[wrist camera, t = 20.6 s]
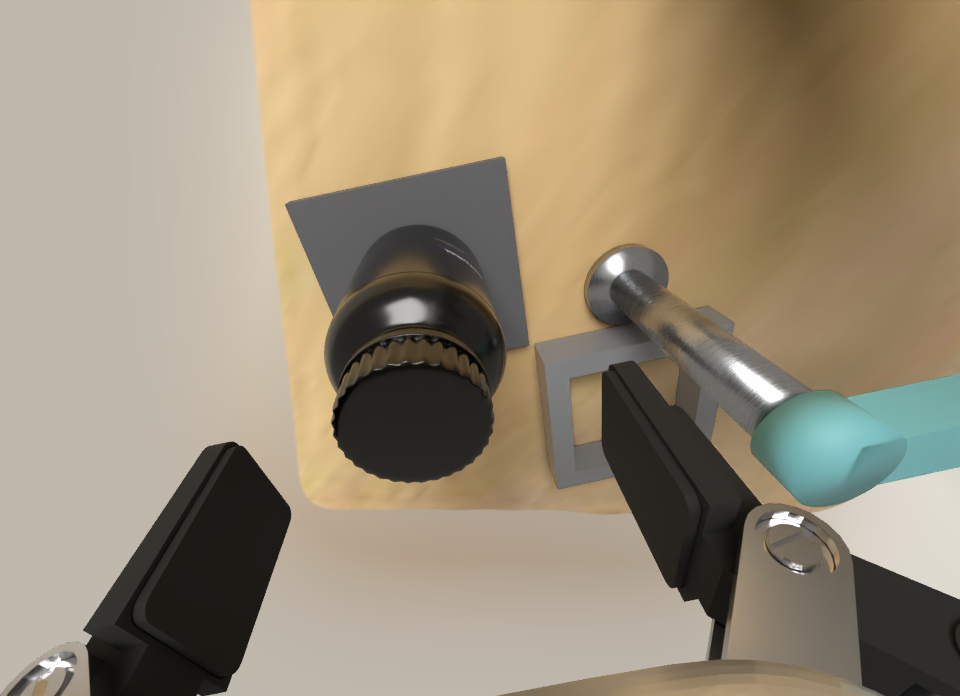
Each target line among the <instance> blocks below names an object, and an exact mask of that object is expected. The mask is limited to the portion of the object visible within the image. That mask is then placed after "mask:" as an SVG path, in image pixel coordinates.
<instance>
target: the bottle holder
mask: <svg viewBox="0 0 960 696" xmlns="http://www.w3.org/2000/svg"><path fill="white" fill-rule="evenodd" d="M696 310H697V311H699V312H700V313H702V314H703V315H704V316H706V317H707V318H709V319H710V320H712V321H713V322H714V323H716V324H717V325H719V326H720V327H722V328H723V329H724V330H726V331H727V332H729V333H730V334H732V333H733V328H734V322H733V321H731V320H729V319H728V318H726V317H725V316H723V315H722V314H720V313H719V312H717V311H716V310H714V309H713V308H711V307H710V306H706V307H701V308H697V309H696ZM534 345H535V353H536V361H537V370H538V378H539V386H540V395H541V403H542V411H543V420H544V428H545V436H546V445H547V453H548V461H549V466H550V469H551V472H552V475H553V478H554V480H555V483H556V486H557V489H562V488H567V487H571V486H576V485H580V484H585V483H589V482H594V481H598V480H603V479H607V478H612V477H615V476H614V474H613V472H612V470H611V468H610V466H609V464H608V462H607V460H606V458H605V455H604V452H603V449H602V440H601V441H596V442H592V443H587V444H583V445H578V446H574V439H573V424H572V409H571V394H570V378H574V377H579V376H583V375H588V374H592V373H597V372H602V371H606V370H608V368H609V365H611V364H616V363H621V362H626V361H631V360H632V361H634V362H635V363H636V364H638V363H643V362H647V361H652V360H656V359H661V358H665V357H669V356H668V355H667V354H666V353H665V352H664V351H663V350H662V349H661V348H660V347H659V346H658V345H657V344H656V343H655V342H654V341H653V340H652V339H651V338H649V337H648V336H647V335H646V334H645V333H644V332H643V331H642V330H641V329H640V328H639V327H638V326H637V325H636V324H635V323H634V322H633V323H629V324H623V325H619V326H614V327H610V328H605V329H601V330H596V331H591V332H587V333H582V334H578V335H573V336H568V337H564V338H559V339H555V340H550V341H545V342H541V343H536V344H534ZM675 405H677V406H679V407H681V408H682V409H683V410H684V411H685V412H686V413H687V414H688V415H689V416H690V418H691V419H692V420H693V421H694V422H695V424H696V425H697V426H698V427H699V429H700V430H701V431H702V432H703V433H704V435H705V436H706V437H707V438H708V440H709V441H711V437H712V432H713V427H714V422H715V417H716V412H717V407H718V404H717V403H716V402H715V401H714V400H713V399H712V398H711V397H710V396H709V395H708V394H707V393H706V392H705V391H704V390H703V389H702V388H701V387H700V386H699V385H698V384H697V383H696V382H695V381H694V380H693V379H692V378H691V377H690V376H689V375H688V374H687V373H686V372H685V371H683V370H682V369H681V368H680V371H679V379H678V387H677V395H676V403H675Z"/></svg>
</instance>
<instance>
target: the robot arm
mask: <svg viewBox="0 0 960 696" xmlns="http://www.w3.org/2000/svg"><path fill="white" fill-rule="evenodd" d="M602 449H603V452H604V455H605V458H606V460H607V462H608V464H609V466H610V468H611V470H612V472H613V474H614V476H615V478H616V480H617V483H618V485H619V487H620V489H621V491H622V493H623V495H624V497H625V499H626V501H627V503H628V505H629V507H630V509H631V511H632V513H633V516H634V518H635V519H636V522H637V523H638V526H639V528H640V530H641V532H642V534H643V536H644V538H645V540H646V542H647V544H648V546H649V548H650V551H651V553H652V555H653V557H654V559H655V561H656V563H657V565H658V567H659V569H660V571H661V573H662V575H663V577H664V579H665V581H666V583H667V584H668V586H669V587H670V588H675V587H677V588H678V590H679V592H680V594H681V596H682V598H683V600H684V602H685V601H690V600H695V599H699V601H700V603H701V605H702V607H703V608H704V610H705V612H706V614H707V615H708V616H709V617H711V618H712V624H711V631H710V636H709V642H708V649H707V654H706V660H705V661H700V662H690V663H681V664H672V665H666V666H660V667H654V668H648V669H642V670H636V671H630V672H624V673H619V674H612V675H607V676H601V677H595V678H589V679H583V680H578V681H573V682H567V683H562V684H557V685H551V686H547V687H542V688H536V689H531V690H526V691H520V692H515V693H509V694H504V695H499V696H960V600H959V599H957V598H955V597H952V596H950V595H947V594H945V593H943V592H940V591H938V590H935V589H932V588H931V587H928V586H926V585H923V584H921V583H919V582H916V581H914V580H911V579H909V578H907V577H904V576H902V575H899V574H897V573H895V572H892V571H890V570H887V569H885V568H883V567H880V566H878V565H876V564H873V563H871V562H868V561H866V560H863V559H861V558H859V557H856V556H854V555H852V554H850V551H849V549H848V547H847V546H846V544H845V543H844V541H843V540H842V538H841V537H840V535H838V534H837V533H836V532H835V531H834V530H833V529H832V528H831V527H830V526H829V525H828V524H827V523H825V522H824V521H822V520H821V519H819V518H818V517H816V516H815V515H813V514H811V513H809V512H806V511H804V510H802V509H800V508H797V507H794V506H789V505H785V504H764V505H762V504H761V503H760V502H759V501H758V499H757V498H756V497H755V496H754V495H753V493H752V492H751V491H750V490H749V488H748V487H747V486H746V485H745V484H744V482H743V481H742V480H741V479H740V477H739V476H738V475H737V474H736V473H735V471H734V470H733V469H732V468H731V466H730V465H729V464H728V463H727V462H726V460H725V459H724V458H723V457H722V455H721V454H720V453H719V452H718V451H717V449H716V448H715V447H714V446H713V444H712V443H711V442H710V441H709V440H708V438H707V437H706V436H705V435H704V433H703V432H702V431H701V430H700V429H699V427H698V426H697V425H696V424H695V422H694V421H693V420H692V419H691V418H690V416H689V415H688V414H687V413H686V412H685V411H684V410H683V409H682V408H681V407H679V406H677V405H674V406H669V405H668V403H667V402H666V401H665V400H664V398H663V397H662V396H661V394H660V393H659V392H658V391H657V389H656V388H655V387H654V385H653V384H652V383H651V382H650V380H649V379H648V378H647V377H646V375H645V374H644V373H643V371H642V370H641V369H640V368H639V366H638V365H637V364H636V363H635V362H634V361H632V360H631V361H626V362H621V363H616V364H611V365H609V368H608V371H605V372H603V373H602ZM290 520H291V510H290V507H289V505H288V504H287V503H286V501H285V500H284V499H283V498H282V496H281V495H280V493H279V492H278V491H277V489H276V488H275V487H274V485H273V484H272V483H271V481H270V480H269V479H268V478H267V476H266V475H265V474H264V472H263V471H262V470H261V468H260V467H259V466H258V464H257V463H256V462H255V460H254V459H253V458H252V456H251V455H250V454H249V452H248V451H247V450H246V449H245V448H244V447H243V446H239V445H238V444H237V443H235V442H227V443H222V444H217V445H212V446H208V447H207V448H205V449H204V450H203V451H202V453H201V454H200V456H199V457H198V459H197V460H196V462H195V464H194V465H193V467H192V468H191V469H190V471H189V472H188V474H187V475H186V477H185V478H184V480H183V481H182V483H181V484H180V486H179V487H178V489H177V490H176V492H175V493H174V495H173V496H172V498H171V499H170V501H169V502H168V504H167V505H166V507H165V508H164V510H163V511H162V513H161V514H160V516H159V517H158V519H157V520H156V522H155V523H154V525H153V526H152V528H151V529H150V531H149V532H148V534H147V535H146V537H145V538H144V540H143V541H142V543H141V544H140V546H139V547H138V549H137V550H136V552H135V553H134V555H133V556H132V558H131V559H130V561H129V562H128V564H127V565H126V567H125V568H124V570H123V571H122V573H121V574H120V576H119V577H118V579H117V580H116V582H115V583H114V585H113V586H112V588H111V589H110V591H109V592H108V594H107V595H106V597H105V598H104V600H103V601H102V603H101V604H100V606H99V607H98V609H97V610H96V612H95V613H94V615H93V616H92V618H91V619H90V621H89V622H88V624H87V625H86V626H85V628H84V629H83V631H85V632H87V633H89V634H90V635H92V637H91V639H90V640H89V642H88V644H87V645H84V644H82V643H80V642H78V641H77V642H68V643H65V644H62V645H60V646H58V647H55V648H53V649H51V650H50V651H49V652H47V653H45V654H43V655H42V656H40V657H39V658H37V659H36V660H35V661H34V662H32V663H31V664H30V665H29V666H27V667H26V668H25V669H24V670H22V672H21V673H19V675H18V676H17V677H16V678H15V679H14V680H13V681H12V682H11V683H10V684H9V685H8V686H7V687H6V688H5V689H4V691H3V692H2V693H1V694H0V696H196V695H197V694H199V695H201V696H206V695H211V694H217V693H221V692H226V691H227V688H228V685H229V683H230V680H231V677H232V674H234V673H235V672H236V671H237V670H238V668H239V667H240V664H241V662H242V659H243V657H244V654H245V651H246V648H247V644H248V642H249V639H250V636H251V633H252V630H253V627H254V625H255V622H256V619H257V616H258V613H259V610H260V607H261V604H262V601H263V599H264V596H265V593H266V590H267V587H268V584H269V581H270V578H271V575H272V572H273V569H274V566H275V564H276V561H277V558H278V555H279V552H280V549H281V546H282V544H283V541H284V538H285V535H286V532H287V529H288V526H289V523H290Z"/></svg>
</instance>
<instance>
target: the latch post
mask: <svg viewBox="0 0 960 696" xmlns="http://www.w3.org/2000/svg"><path fill="white" fill-rule="evenodd" d="M667 285H668V269H667V265H666V263H665V261H664V260H663V258H662V257H661V256H660V255H659V254H658V253H656V252H655V251H653V250H651V249H649V248H647V247H645V246H643V245H639V244H625V245H621V246H618V247H615V248H613V249H611V250H609V251H608V252H606V253H605V254H603V255H602V256H601V257H600V258H599V259H598V260H597V261H596V262H595V263H594V265H593V266H592V267H591V269H590V271H589V273H588V275H587V277H586V280H585V285H584V297H585V300H586V303H587V305H588V307H589V308H590V309H591V311H592V312H593V313H594V314H595V315H596V316H597V317H598V318H599V319H600V320H602V321H604V322H606V323H609V324H614V325H623V324H629V323H632V322H634V323H635V324H636V325H637V326H638V327H639V328H640V329H641V330H642V331H643V332H644V333H645V334H646V335H647V336H648V337H649V338H651V339H652V340H653V341H654V342H655V343H656V344H657V345H658V346H659V347H660V348H661V349H662V350H663V351H664V352H665V353H666V354H667V355H668V356H669V357H670V358H671V359H672V360H673V361H674V362H675V363H676V364H677V365H678V366H679V367H680V368H681V369H682V370H683V371H685V372H686V373H687V374H688V375H689V376H690V377H691V378H692V379H693V380H694V381H695V382H696V383H697V384H698V385H699V386H700V387H701V388H702V389H703V390H704V391H705V392H706V393H707V394H708V395H709V396H710V397H711V398H712V399H713V400H714V401H715V402H716V403H717V404H719V405H720V406H721V407H722V408H723V409H724V410H725V411H726V412H727V413H728V414H729V415H730V416H731V417H732V418H733V419H734V420H735V421H736V422H737V423H738V424H739V425H740V426H741V427H742V428H743V429H744V430H745V431H746V432H747V433H748V434H749V435H750V436H751V437H752V436H753V433H754V432H755V430H756V428H757V427H758V425H759V424H760V423H761V422H762V420H763V419H764V418H765V417H766V416H767V415H768V414H769V413H771V412H772V411H773V410H774V409H776V408H777V407H778V406H780V405H781V404H783V403H784V402H786V401H788V400H790V399H792V398H794V397H796V396H799V395H801V394H804V393H807V392H811V391H812V390H810V389H809V388H807V387H806V386H804V385H803V384H802V383H800V382H799V381H797V380H796V379H794V378H793V377H792V376H790V375H789V374H787V373H786V372H784V371H783V370H782V369H780V368H779V367H777V366H776V365H774V364H773V363H772V362H770V361H769V360H767V359H766V358H764V357H763V356H762V355H760V354H759V353H757V352H756V351H754V350H753V349H752V348H750V347H749V346H747V345H746V344H744V343H743V342H742V341H740V340H739V339H737V338H736V337H734V336H733V335H732V334H730V333H729V332H727V331H726V330H724V329H723V328H722V327H720V326H719V325H717V324H716V323H714V322H713V321H712V320H710V319H709V318H707V317H706V316H704V315H703V314H702V313H700V312H699V311H697V310H696V309H694V308H693V307H692V306H690V305H689V304H687V303H686V302H684V301H683V300H682V299H680V298H679V297H677V296H676V295H674V294H673V293H672V292H670V291H669V290H667V289H666V288H667Z"/></svg>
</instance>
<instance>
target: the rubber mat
mask: <svg viewBox="0 0 960 696" xmlns="http://www.w3.org/2000/svg"><path fill="white" fill-rule="evenodd" d="M285 206H286V208H287V211H288V213H289V215H290V218H291V220H292V222H293V224H294V227H295V229H296V231H297V234H298V236H299V238H300V241H301V243H302V245H303V248H304V250H305V252H306V255H307V257H308V259H309V262H310V264H311V266H312V269H313V271H314V273H315V275H316V278H317V280H318V282H319V285H320V287H321V289H322V292H323V294H324V296H325V299H326V301H327V303H328V306H329V308H330V310H331V313H332V315H333V316H334V314H335V312H336V310H337V308H338V306H339V304H340V302H341V300H342V298H343V296H344V294H345V292H346V290H347V288H348V286H349V284H350V282H351V280H352V278H353V276H354V274H355V272H356V270H357V268H358V266H359V264H360V262H361V261H362V259H363V257H364V256H365V254H366V252H367V251H368V249H369V248H370V247H371V246H372V244H373V243H374V242H375V241H376V240H378V239H379V238H380V237H381V236H383V235H384V234H386V233H387V232H389V231H391V230H394V229H396V228H399V227H402V226H407V225H430V226H435V227H438V228H441V229H444V230H446V231H448V232H450V233H452V234H454V235H455V236H456V237H458V238H459V239H460V240H462V241H463V242H464V243H465V244H466V245H467V246H468V248H469V249H470V250H471V251H472V253H473V254H474V256H475V257H476V259H477V261H478V263H479V266H480V268H481V271H482V273H483V276H484V279H485V282H486V285H487V287H488V290H489V293H490V296H491V299H492V302H493V304H494V307H495V310H496V313H497V316H498V318H499V321H500V324H501V327H502V330H503V334H504V338H505V344H506V350H510V349H514V348H519V347H523V346H528V345H529V341H528V333H527V325H526V318H525V310H524V302H523V294H522V287H521V279H520V271H519V263H518V256H517V248H516V240H515V232H514V224H513V217H512V209H511V201H510V193H509V186H508V178H507V170H506V162H505V158H504V157H497V158H492V159H488V160H483V161H478V162H474V163H469V164H464V165H459V166H455V167H450V168H445V169H441V170H436V171H431V172H427V173H422V174H417V175H412V176H408V177H403V178H398V179H394V180H389V181H384V182H379V183H375V184H370V185H365V186H361V187H356V188H351V189H346V190H342V191H337V192H332V193H328V194H323V195H318V196H313V197H309V198H304V199H299V200H295V201H290V202H288V203H286V204H285Z"/></svg>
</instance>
